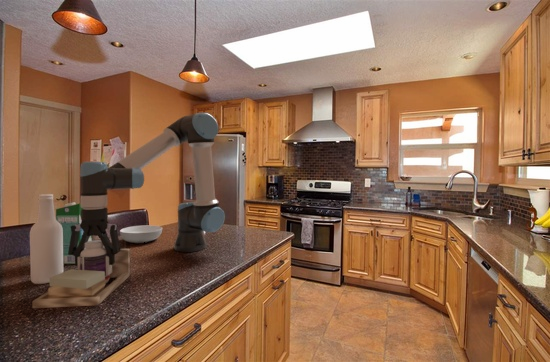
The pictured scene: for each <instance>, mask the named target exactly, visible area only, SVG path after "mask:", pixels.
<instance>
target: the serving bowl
mask: <svg viewBox="0 0 550 362" xmlns="http://www.w3.org/2000/svg"><path fill="white" fill-rule="evenodd" d="M162 232H163V227H162V226H159V225H151V224H150V225H146V224H145V225H133V226H128V227H124V228H121V229H119V235H120V237H121V238H122V239H123V240H124V241H125V242H128V243H134V244H144V242H145V243H148V242H151V241H155V240H156V239H158V238H159V237H160V236H161V234H162Z"/></svg>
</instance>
